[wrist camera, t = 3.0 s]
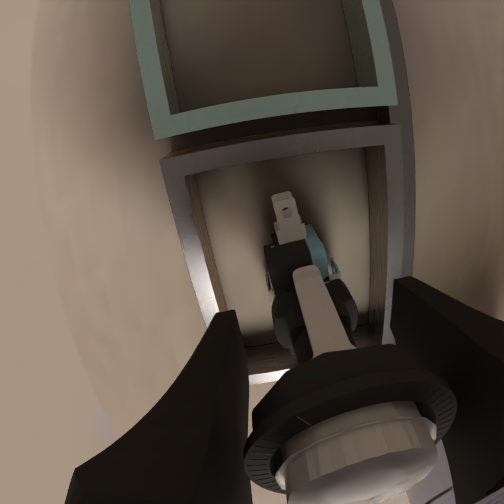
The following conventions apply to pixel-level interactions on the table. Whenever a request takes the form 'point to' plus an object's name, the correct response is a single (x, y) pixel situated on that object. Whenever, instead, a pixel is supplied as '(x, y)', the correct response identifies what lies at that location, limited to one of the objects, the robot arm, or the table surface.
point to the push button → (337, 389)
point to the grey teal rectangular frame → (290, 144)
